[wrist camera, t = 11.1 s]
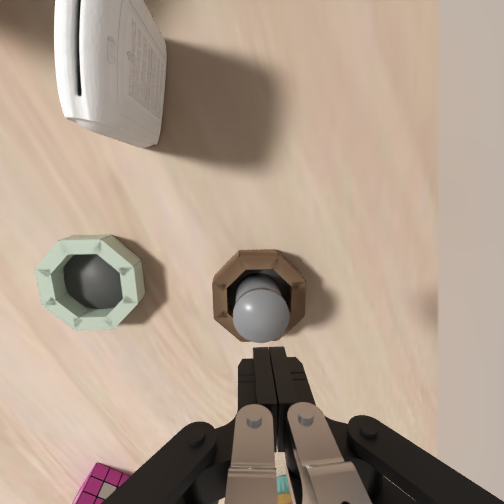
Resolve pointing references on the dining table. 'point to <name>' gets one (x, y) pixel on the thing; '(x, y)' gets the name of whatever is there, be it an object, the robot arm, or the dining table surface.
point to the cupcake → (283, 491)
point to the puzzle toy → (99, 485)
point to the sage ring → (90, 281)
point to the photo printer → (111, 68)
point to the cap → (260, 309)
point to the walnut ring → (257, 263)
